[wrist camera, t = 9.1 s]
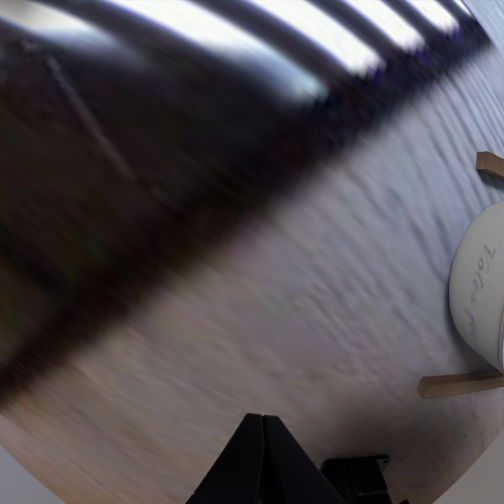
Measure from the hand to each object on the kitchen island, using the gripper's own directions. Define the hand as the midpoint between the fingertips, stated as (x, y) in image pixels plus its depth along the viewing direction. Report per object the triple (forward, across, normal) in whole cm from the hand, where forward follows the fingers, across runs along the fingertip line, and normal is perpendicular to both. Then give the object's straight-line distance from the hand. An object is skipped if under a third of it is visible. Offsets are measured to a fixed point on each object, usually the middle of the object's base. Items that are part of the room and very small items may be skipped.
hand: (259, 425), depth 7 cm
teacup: (+11, -17, -3) cm, 21 cm away
